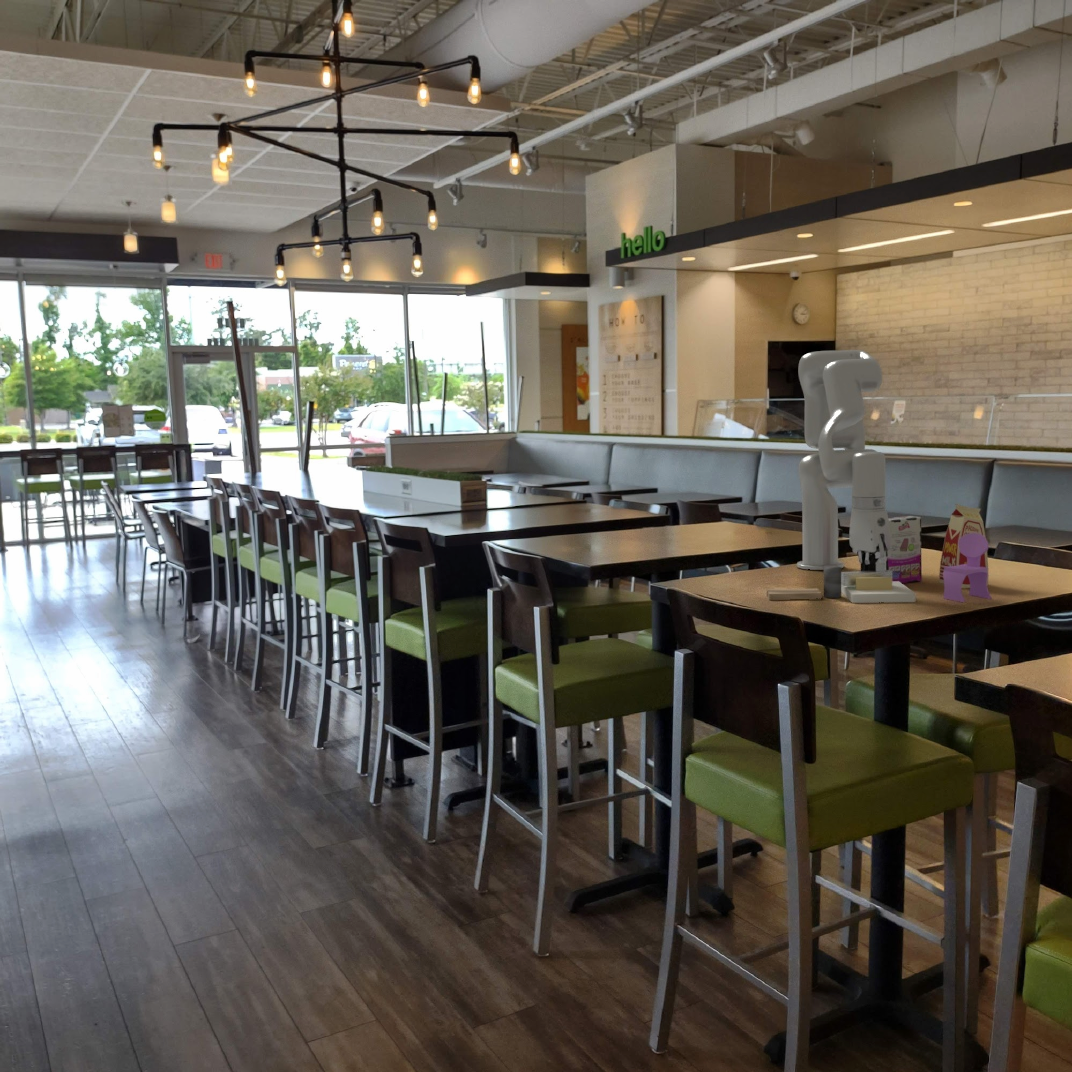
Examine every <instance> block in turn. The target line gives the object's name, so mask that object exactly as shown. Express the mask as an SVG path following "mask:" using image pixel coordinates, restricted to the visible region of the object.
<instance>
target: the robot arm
mask: <svg viewBox="0 0 1072 1072" xmlns="http://www.w3.org/2000/svg"><path fill="white" fill-rule="evenodd" d="M797 369H798V371H797V372H798V380H799V382H800V383H799V384H800V386H801V391H802V393H803V396H804V441H805V444H806V445H807V446H808V447H809V448H811V449H815V450H816V449H818V453H812V454H808V455H806V456H804V457H803V458H801V459H800V462H799V464H798V477H799V482H800V491H801V508H802V509H801V513H802V514H801V515H802V516H801V517H802V519H801V520H802V523H801V524H802V525H801V527H802V528H801V529H802V560H800V561H797V563H796V567H797V568H798V569H802V570H808V569H810V570H809V571H824V567H827V566H837V567H841V569H842V568H844V567H845V565H844V562H843V561H840V560H839V511H838V509H839V507H838V506H839V505H838V502H837V500H836V498H835V497H834V496H833V494H832V493H831V492H830V491H829V489H833V488H834V489H835V488H837V489H839V488H851V496H852V497H851V514H850V519H849V520H850V522H849V534H848V535H849V538H848V539H849V546H850V547H851V549H852V552H853V554H855V555H857V556H858V562H859V564H860V571H874V570H876V563H878V559H879V558H883V557H884V556H885V554H884V551H888V550H889V549H890V529H889V520H888V518H889V516H888V511H887V510H886V456H885V454H884V453H883V452H880V451H877V450H875V449H872V448H871V449H870V448H869V449H868V448H866V429H865V428H866V426H865V424H864V421H863V418H864V417H865V415H866V408H865V403H864V398H863V393H870V392H871V393H872V392H876V391H877V390H879V389H880V388H881V385H882V383H883V372H882V368H881V365H880V363H879V361H878V360H877V359H876V358H875V357H874V356H872V355H871V354H869V353H868V352H867V351H864V350H861V349H847V350H846V349H844V350H820V351H811V352H808V353H806V354H804V355H802V356H801V358H800V360H799V363H798V368H797ZM835 449H836V450H835Z"/></svg>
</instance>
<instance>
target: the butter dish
mask: <svg viewBox="0 0 1072 1072" xmlns="http://www.w3.org/2000/svg"><path fill="white" fill-rule="evenodd" d="M841 594H842V595H843V596H844V597H846V598H847V600H848V601H849V602H852V604H861V603H862V604H866V603H867V604H869V603H872V604H874V603H877V604H878V603H879V602H880V603H881V602H884V603H916V592H914V591H913V590H912V589H910V588H908V587H907V586H906V585H905V584H904V583H903V584H902V583H900V582H899V581H892V577H863V578H856V586H843V585H841ZM881 604H882V603H881Z"/></svg>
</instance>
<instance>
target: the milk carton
mask: <svg viewBox="0 0 1072 1072" xmlns="http://www.w3.org/2000/svg"><path fill="white" fill-rule="evenodd" d="M954 506H955V510H954V511H953V512H952V513H951V515H950V519H949V523H948V525H947V526H948V527H947V529H946V533H945V536H944V541H943V547H942V551H941V558H940V564H939V575H938V583H939V584H943V585H944V578H943V572H944V567H947V566H957V565H962V564H967V557H966V556H964V555H963V554H962V553H960V549H959V545H958V542H959V539H960V538H961V537H962V536H964V535H966V534H969V533H979V534H982V535H983V536H984V537H985V538H986V532H985V531H986V530H985V526H984V521H983V518H982V516H981V514H980V511H981V510H982V508H978V507H976V508H975V507H967V506H965V505H961V504H958V503H955V505H954ZM980 567H987V572H988V573H989V561H988V550H987V551H986V552H985V553H984V554H982V555H981V559H980ZM989 583H990V582H989V577H988V578H987V587H988V586H989ZM961 589H970V581H969V577H968V575H967V576H966V577H965V579H964V581H963V583H962V586H961Z"/></svg>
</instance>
